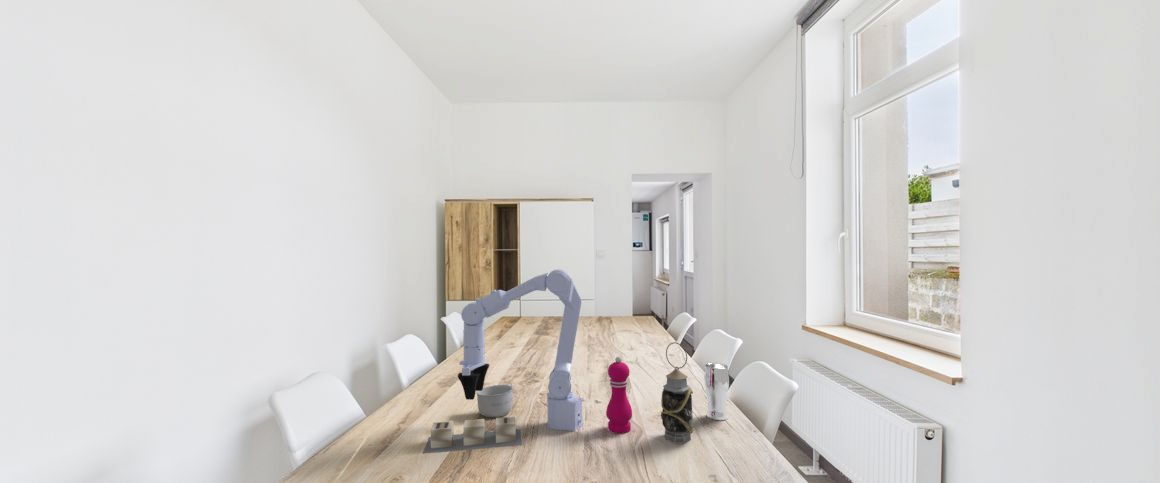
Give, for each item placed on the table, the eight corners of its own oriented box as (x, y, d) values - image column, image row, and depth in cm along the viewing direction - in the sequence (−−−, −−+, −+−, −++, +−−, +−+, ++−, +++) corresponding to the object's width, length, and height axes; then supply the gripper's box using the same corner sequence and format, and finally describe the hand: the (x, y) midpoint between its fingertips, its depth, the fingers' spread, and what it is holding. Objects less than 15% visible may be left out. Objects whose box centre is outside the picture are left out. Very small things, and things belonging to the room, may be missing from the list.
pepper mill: (631, 435, 121) (630, 360, 121) (604, 433, 122) (603, 359, 123) (633, 425, 128) (632, 354, 129) (608, 423, 130) (607, 353, 130)
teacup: (493, 425, 129) (493, 396, 130) (469, 417, 136) (469, 390, 136) (527, 411, 140) (527, 385, 141) (503, 404, 147) (503, 379, 147)
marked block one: (515, 433, 121) (514, 416, 121) (515, 441, 116) (515, 423, 116) (496, 435, 120) (495, 417, 120) (495, 442, 115) (495, 424, 115)
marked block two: (453, 438, 118) (453, 420, 118) (451, 446, 113) (451, 428, 113) (433, 440, 117) (433, 422, 118) (430, 448, 112) (430, 429, 113)
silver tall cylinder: (726, 412, 137) (725, 363, 137) (732, 421, 130) (731, 368, 130) (703, 412, 137) (702, 362, 138) (707, 420, 131) (706, 368, 131)
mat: (520, 432, 124) (520, 429, 124) (522, 448, 114) (522, 444, 114) (429, 439, 120) (429, 436, 120) (422, 456, 110) (422, 453, 110)
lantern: (700, 438, 118) (698, 342, 119) (681, 447, 113) (680, 347, 113) (673, 429, 125) (671, 338, 125) (654, 437, 119) (653, 342, 120)
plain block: (484, 436, 120) (484, 418, 120) (484, 443, 115) (483, 426, 115) (465, 437, 119) (465, 420, 119) (463, 445, 114) (463, 427, 114)
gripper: (468, 340, 134) (468, 386, 134) (450, 351, 120) (451, 403, 119) (491, 340, 134) (492, 386, 133) (476, 351, 119) (477, 403, 119)
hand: (474, 394), depth 126 cm, fingers open, 7 cm apart
